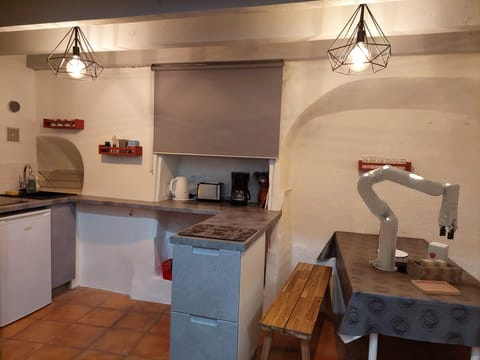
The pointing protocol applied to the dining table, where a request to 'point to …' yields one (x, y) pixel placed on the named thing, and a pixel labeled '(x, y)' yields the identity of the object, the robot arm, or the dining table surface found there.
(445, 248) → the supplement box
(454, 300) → the dining table surface
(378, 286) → the dining table surface
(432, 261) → the maple block
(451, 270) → the walnut pocket jig
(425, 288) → the terracotta tray
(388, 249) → the robot arm
